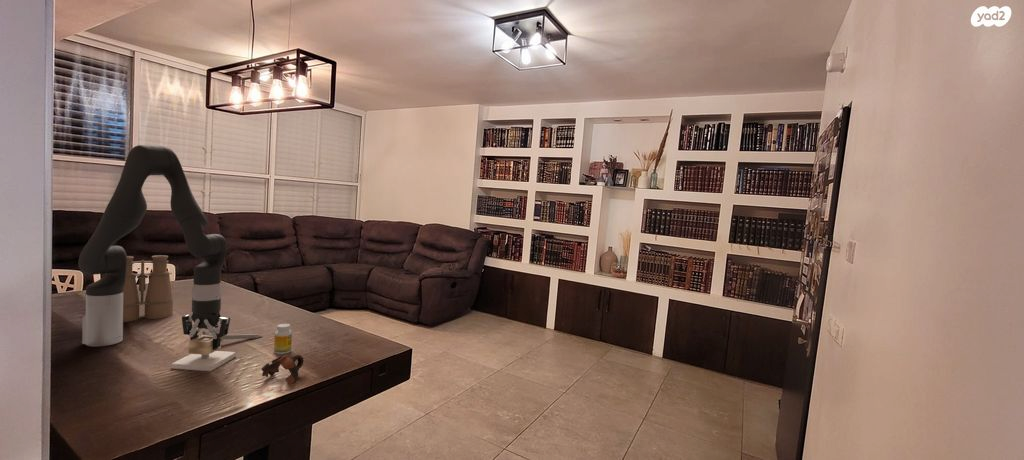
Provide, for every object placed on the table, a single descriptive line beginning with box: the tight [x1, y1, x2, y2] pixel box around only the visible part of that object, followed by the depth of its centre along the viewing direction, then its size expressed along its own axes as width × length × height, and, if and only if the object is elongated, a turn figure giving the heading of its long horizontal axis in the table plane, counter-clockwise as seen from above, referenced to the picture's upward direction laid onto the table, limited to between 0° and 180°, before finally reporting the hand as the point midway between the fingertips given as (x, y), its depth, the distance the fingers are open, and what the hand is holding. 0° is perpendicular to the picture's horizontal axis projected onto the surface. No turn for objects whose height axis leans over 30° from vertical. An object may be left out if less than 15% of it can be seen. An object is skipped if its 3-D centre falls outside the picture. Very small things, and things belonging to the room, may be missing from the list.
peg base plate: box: [170, 338, 237, 372], centre depth 135 cm, size 12×12×8 cm
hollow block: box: [188, 335, 222, 355], centre depth 135 cm, size 6×6×4 cm
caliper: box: [199, 330, 264, 343], centre depth 153 cm, size 20×1×6 cm, turn 143°
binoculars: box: [123, 254, 175, 323], centre depth 171 cm, size 21×10×25 cm, turn 134°
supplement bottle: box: [273, 323, 293, 355], centre depth 149 cm, size 5×5×10 cm
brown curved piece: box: [260, 354, 304, 386], centre depth 129 cm, size 12×10×8 cm
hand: (205, 348), depth 135 cm, fingers closed on hollow block, 6 cm apart
